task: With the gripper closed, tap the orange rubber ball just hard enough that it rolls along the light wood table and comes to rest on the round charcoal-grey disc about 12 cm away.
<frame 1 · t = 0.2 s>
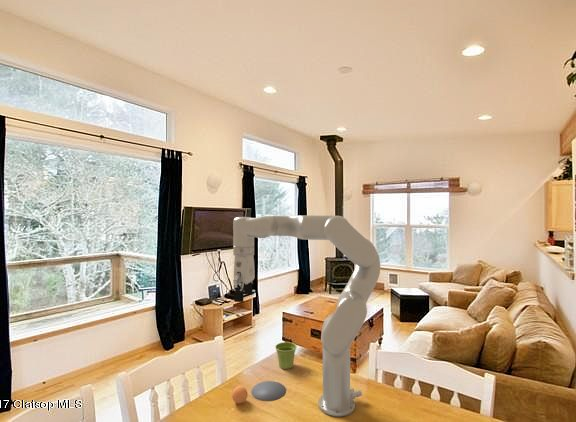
hand: (243, 297, 121), 37 cm above the table, tool pointing down, fingers open, 9 cm apart
plant pot: (286, 366, 146), on the table
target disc: (268, 390, 127), on the table
ball: (239, 394, 119), on the table
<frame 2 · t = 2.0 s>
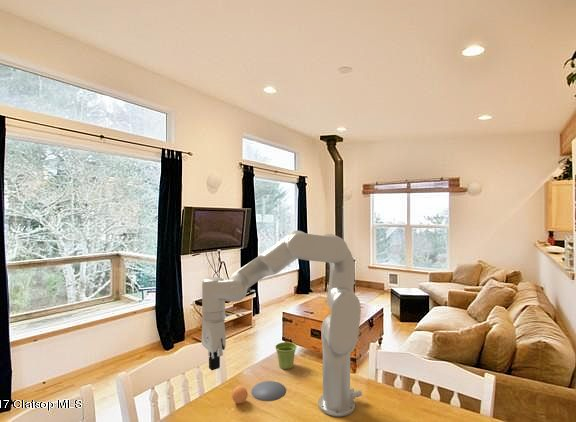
hand: (214, 368, 113), 15 cm above the table, tool pointing down, fingers closed
nothing on the table moved.
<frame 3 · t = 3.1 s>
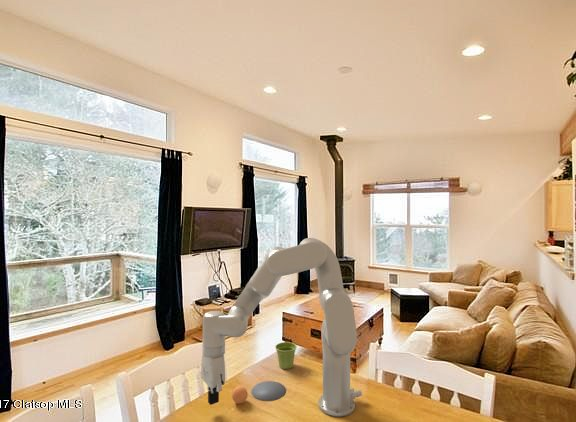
hand: (213, 402, 114), 3 cm above the table, tool pointing down, fingers closed
nothing on the table moved.
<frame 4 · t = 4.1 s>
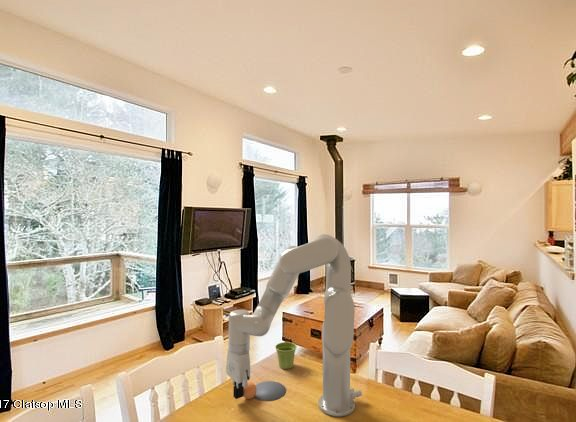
hand: (238, 396, 119), 2 cm above the table, tool pointing down, fingers closed
ball: (249, 390, 122), on the table, touching gripper
everything else where it was.
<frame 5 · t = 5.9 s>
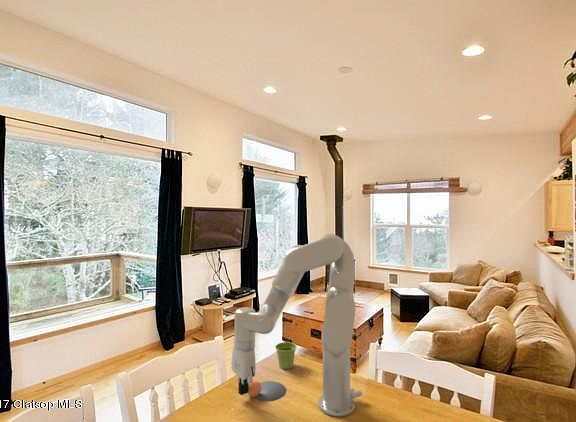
hand: (243, 392, 121), 2 cm above the table, tool pointing down, fingers closed
ball: (253, 388, 123), on the table, touching gripper
everything else where it was.
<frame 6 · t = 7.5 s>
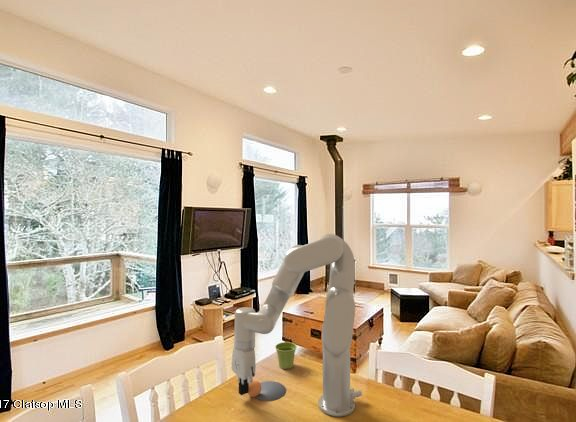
hand: (243, 393, 121), 2 cm above the table, tool pointing down, fingers closed
nothing on the table moved.
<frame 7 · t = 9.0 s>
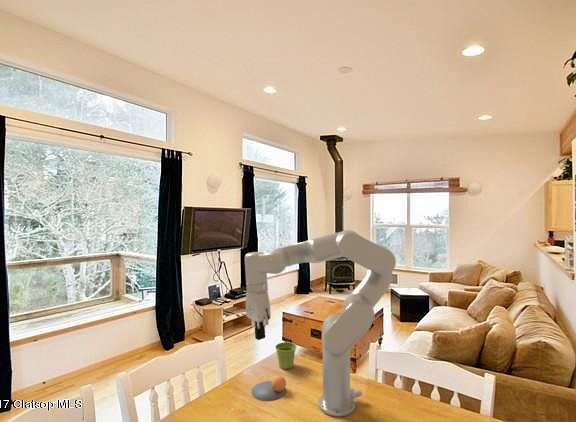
hand: (260, 338, 119), 23 cm above the table, tool pointing down, fingers closed
ball: (278, 383, 126), on the table
everything else where it was.
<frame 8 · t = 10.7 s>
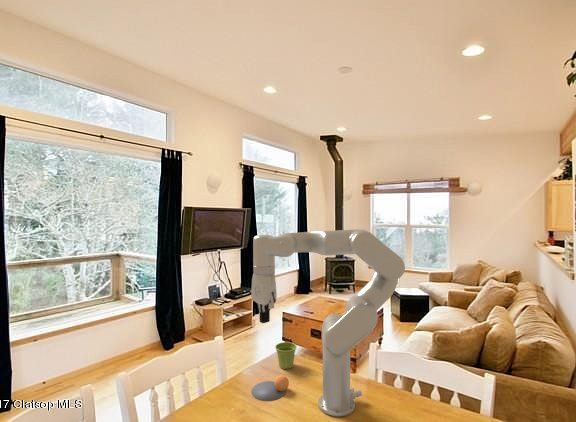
hand: (264, 321, 118), 29 cm above the table, tool pointing down, fingers closed
ball: (281, 383, 127), on the table
everything else where it was.
at the end: ball 4.9 cm from the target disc (horizontally); ball at rest at the end (0.0 cm/s); ball moved 16.6 cm from its start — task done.
